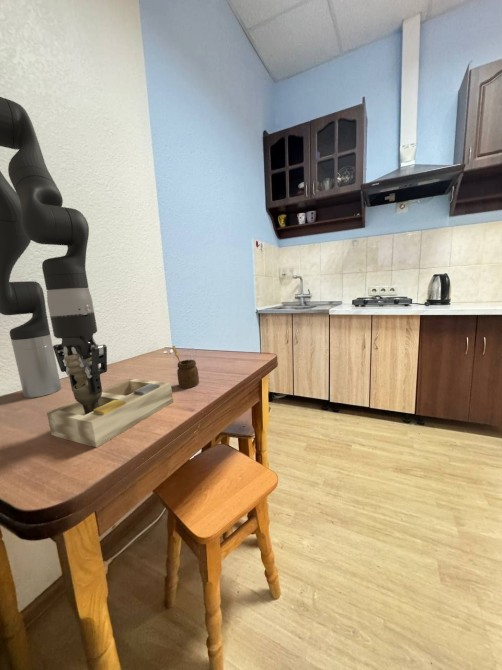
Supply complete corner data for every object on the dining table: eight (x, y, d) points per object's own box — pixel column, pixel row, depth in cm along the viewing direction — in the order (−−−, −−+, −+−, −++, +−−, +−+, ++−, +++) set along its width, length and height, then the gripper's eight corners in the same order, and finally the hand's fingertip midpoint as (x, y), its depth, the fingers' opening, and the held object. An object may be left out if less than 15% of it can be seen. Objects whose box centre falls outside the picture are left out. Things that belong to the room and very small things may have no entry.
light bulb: (92, 423, 56) (79, 351, 54) (70, 422, 57) (55, 351, 55) (111, 410, 62) (100, 344, 59) (90, 409, 63) (78, 345, 60)
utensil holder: (197, 387, 79) (192, 346, 77) (175, 389, 79) (170, 348, 77) (201, 380, 85) (197, 342, 82) (180, 382, 85) (176, 343, 83)
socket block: (51, 435, 57) (46, 409, 56) (133, 396, 76) (130, 376, 75) (96, 447, 51) (91, 419, 50) (173, 401, 70) (170, 380, 69)
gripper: (31, 315, 55) (48, 395, 58) (76, 313, 49) (93, 403, 52) (69, 310, 62) (82, 383, 65) (113, 309, 56) (126, 389, 59)
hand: (87, 392), depth 58 cm, fingers closed on light bulb, 5 cm apart
